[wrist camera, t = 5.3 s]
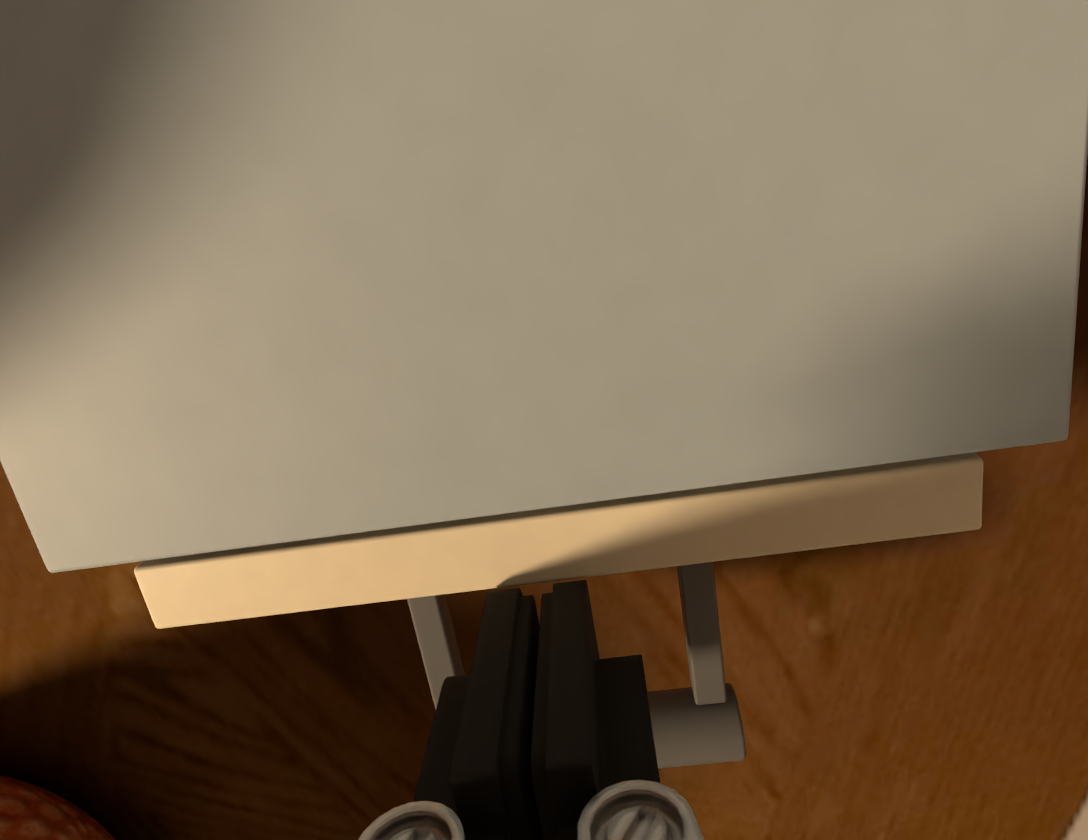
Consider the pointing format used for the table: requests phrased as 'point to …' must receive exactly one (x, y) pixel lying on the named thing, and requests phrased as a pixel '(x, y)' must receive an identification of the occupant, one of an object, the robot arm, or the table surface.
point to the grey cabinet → (518, 253)
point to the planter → (43, 815)
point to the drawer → (583, 567)
